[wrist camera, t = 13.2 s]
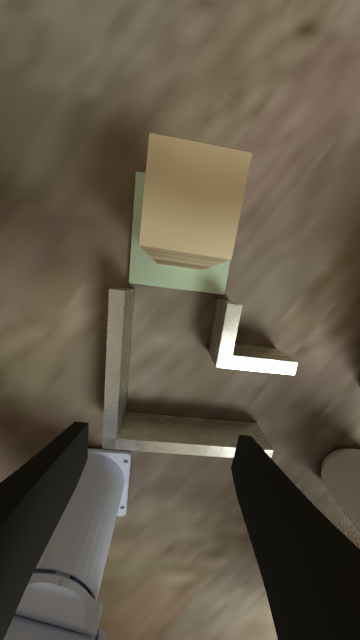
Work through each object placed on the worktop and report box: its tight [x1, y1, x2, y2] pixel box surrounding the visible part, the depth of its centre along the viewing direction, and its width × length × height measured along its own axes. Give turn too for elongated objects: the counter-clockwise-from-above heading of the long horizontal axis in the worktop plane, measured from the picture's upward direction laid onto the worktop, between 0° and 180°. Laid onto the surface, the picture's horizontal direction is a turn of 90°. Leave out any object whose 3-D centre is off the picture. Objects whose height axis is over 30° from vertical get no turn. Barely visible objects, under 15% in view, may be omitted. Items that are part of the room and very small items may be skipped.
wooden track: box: [102, 287, 298, 458], centre depth 17 cm, size 15×16×4 cm
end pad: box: [129, 171, 230, 295], centre depth 16 cm, size 9×9×1 cm
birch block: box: [139, 133, 252, 271], centre depth 12 cm, size 4×4×9 cm
